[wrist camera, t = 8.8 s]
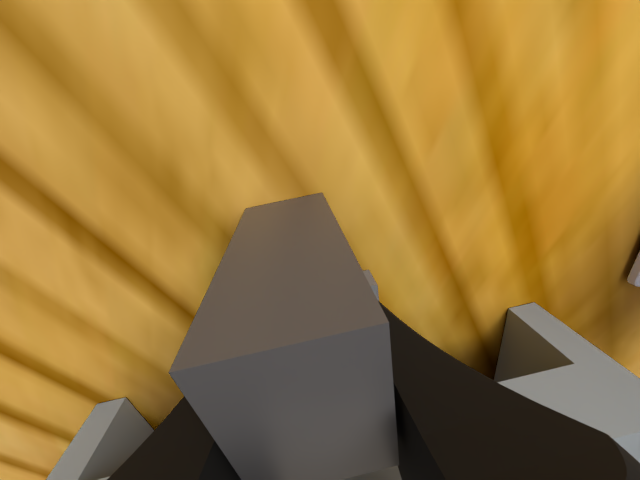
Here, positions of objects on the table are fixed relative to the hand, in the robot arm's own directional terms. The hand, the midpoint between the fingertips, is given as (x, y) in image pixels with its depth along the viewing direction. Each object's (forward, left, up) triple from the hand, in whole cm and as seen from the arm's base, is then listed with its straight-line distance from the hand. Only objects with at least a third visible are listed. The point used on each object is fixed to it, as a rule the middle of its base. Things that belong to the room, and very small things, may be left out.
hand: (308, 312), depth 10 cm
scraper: (+7, 0, -2) cm, 7 cm away
